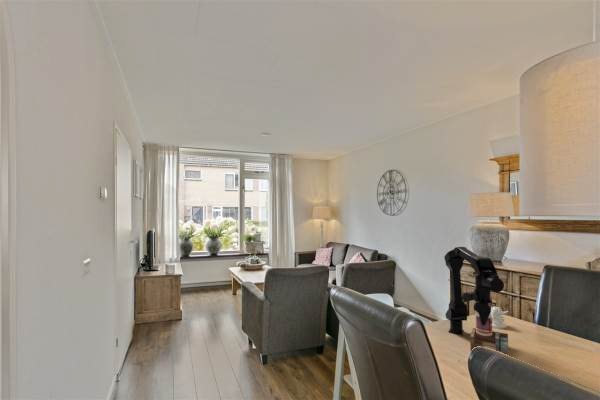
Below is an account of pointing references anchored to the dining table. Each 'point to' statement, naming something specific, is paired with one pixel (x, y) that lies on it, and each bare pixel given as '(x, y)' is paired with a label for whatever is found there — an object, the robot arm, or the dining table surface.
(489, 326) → the pill bottle
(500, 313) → the figurine
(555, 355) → the dining table surface
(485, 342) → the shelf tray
